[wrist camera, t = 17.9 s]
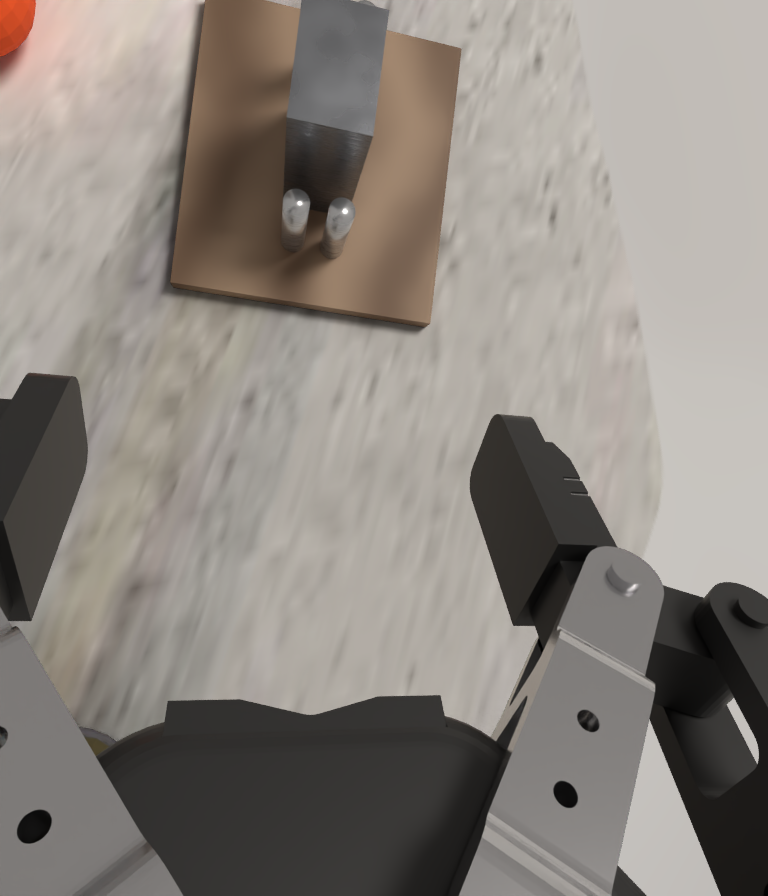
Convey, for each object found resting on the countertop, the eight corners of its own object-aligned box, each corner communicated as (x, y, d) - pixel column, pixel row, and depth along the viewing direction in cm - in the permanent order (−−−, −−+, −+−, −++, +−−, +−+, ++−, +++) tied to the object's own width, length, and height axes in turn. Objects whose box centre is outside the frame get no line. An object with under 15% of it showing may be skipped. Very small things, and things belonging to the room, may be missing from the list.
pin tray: (173, 287, 37) (150, 249, 30) (209, 0, 38) (194, -103, 31) (425, 327, 40) (458, 301, 33) (456, 60, 41) (494, -22, 34)
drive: (282, 204, 38) (286, 117, 28) (295, 107, 38) (303, -14, 28) (347, 217, 38) (373, 136, 28) (359, 121, 38) (389, 8, 29)
